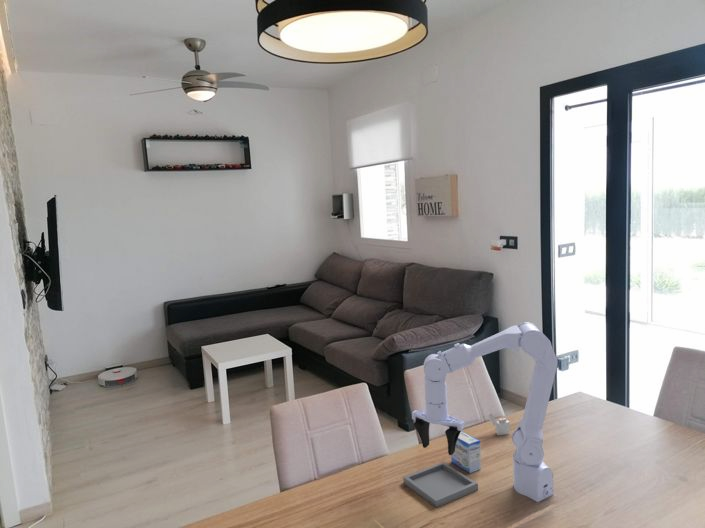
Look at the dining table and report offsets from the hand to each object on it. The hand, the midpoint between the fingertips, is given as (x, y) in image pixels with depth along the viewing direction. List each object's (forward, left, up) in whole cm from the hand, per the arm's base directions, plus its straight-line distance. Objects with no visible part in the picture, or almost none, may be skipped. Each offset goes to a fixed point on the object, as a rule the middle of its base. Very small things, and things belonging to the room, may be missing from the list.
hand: (438, 449), depth 133 cm
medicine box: (+4, -13, -11) cm, 17 cm away
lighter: (+13, -35, -10) cm, 38 cm away
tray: (0, 0, -10) cm, 10 cm away
